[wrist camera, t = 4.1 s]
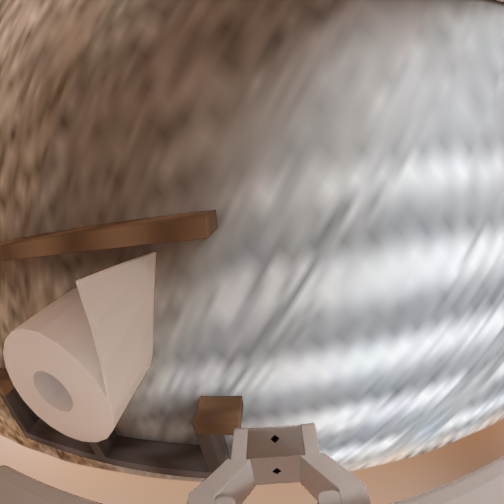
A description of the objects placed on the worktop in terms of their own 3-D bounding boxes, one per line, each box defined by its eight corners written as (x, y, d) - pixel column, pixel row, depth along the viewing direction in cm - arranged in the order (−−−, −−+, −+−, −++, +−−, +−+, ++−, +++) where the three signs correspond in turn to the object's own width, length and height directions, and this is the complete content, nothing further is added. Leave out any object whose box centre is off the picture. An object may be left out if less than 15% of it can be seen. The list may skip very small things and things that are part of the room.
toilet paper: (156, 251, 18) (100, 294, 11) (154, 393, 21) (122, 458, 14) (53, 232, 18) (-17, 259, 11) (66, 364, 21) (22, 412, 14)
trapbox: (215, 210, 17) (204, 217, 14) (251, 453, 22) (249, 479, 19) (-45, 252, 19) (-65, 259, 16) (18, 414, 24) (5, 428, 21)
